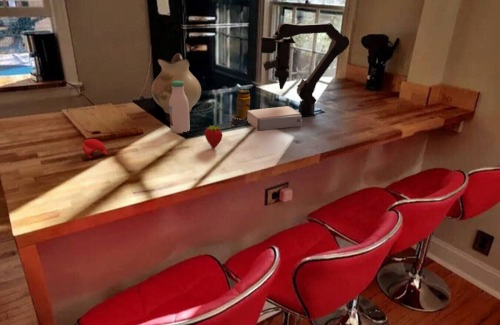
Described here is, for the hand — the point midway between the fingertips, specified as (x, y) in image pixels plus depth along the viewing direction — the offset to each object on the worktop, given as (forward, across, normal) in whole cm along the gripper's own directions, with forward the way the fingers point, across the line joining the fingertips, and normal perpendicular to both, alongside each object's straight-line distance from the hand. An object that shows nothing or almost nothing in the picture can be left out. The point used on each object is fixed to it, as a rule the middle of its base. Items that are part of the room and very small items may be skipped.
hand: (281, 89), depth 169 cm
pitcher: (+12, +1, -48) cm, 50 cm away
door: (+12, +19, +1) cm, 22 cm away
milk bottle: (+12, +28, -40) cm, 50 cm away
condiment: (+12, +6, -17) cm, 22 cm away
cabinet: (+12, +12, -2) cm, 17 cm away
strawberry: (+12, +43, -23) cm, 51 cm away
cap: (+12, +56, -62) cm, 84 cm away
